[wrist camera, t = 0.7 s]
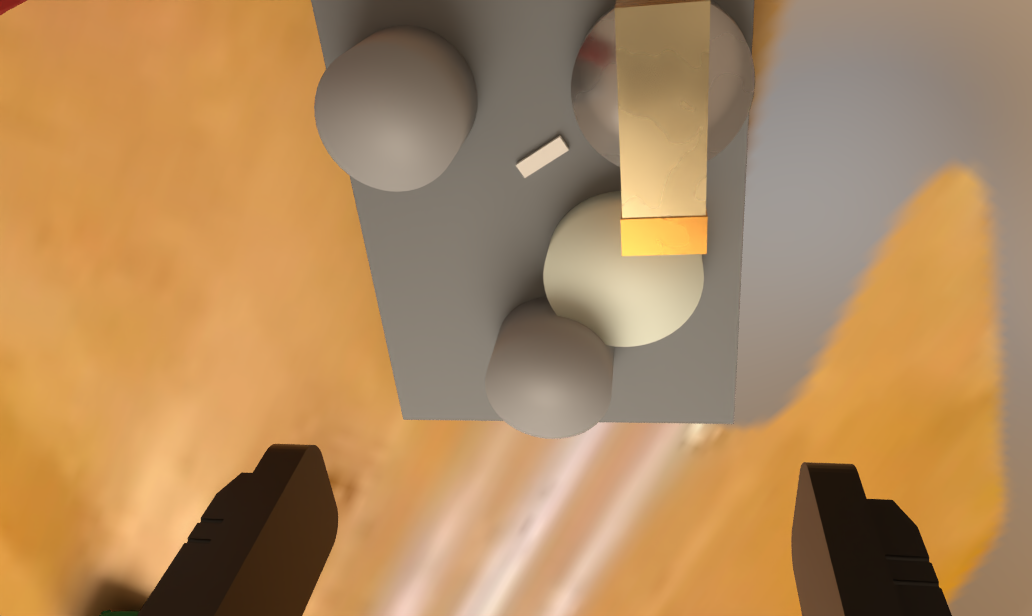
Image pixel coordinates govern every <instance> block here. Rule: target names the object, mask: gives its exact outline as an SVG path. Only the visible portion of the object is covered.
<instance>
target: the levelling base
mask: <svg viewBox="0 0 1032 616" xmlns="http://www.w3.org/2000/svg"><path fill="white" fill-rule="evenodd" d="M711 1H713V2H715V3H716V4H718V5H719V6H720V7H721V8H722V9H724V10H725V11H726V12H727V13H728V14H729V15H730V16H731V18H732V19H733V20H734V21H735V22H736V24H737V25H738V27H739V29H740V30H741V32H742V34H743V36H744V38H745V40H746V42H747V44H748V47H749V49H750V52H751V56H752V38H753V18H754V0H711ZM311 2H312V6H313V11H314V16H315V20H316V25H317V29H318V34H319V38H320V43H321V47H322V52H323V56H324V61H325V65H326V71H325V72H324V74H323V76H322V78H321V79H320V82H319V85H318V87H317V91H316V96H315V106H314V108H315V120H316V125H317V129H318V132H319V135H320V138H321V140H322V142H323V144H324V146H325V148H326V150H327V151H328V153H329V154H330V156H331V157H332V158H333V160H334V161H335V162H336V163H337V164H338V165H339V166H340V168H342V169H343V170H344V171H345V172H346V173H347V174H349V175H350V179H351V184H352V188H353V193H354V197H355V202H356V206H357V211H358V215H359V220H360V224H361V229H362V234H363V238H364V243H365V247H366V252H367V256H368V261H369V265H370V270H371V274H372V279H373V284H374V288H375V293H376V297H377V302H378V306H379V311H380V315H381V320H382V324H383V329H384V333H385V338H386V343H387V347H388V352H389V356H390V361H391V365H392V370H393V374H394V379H395V383H396V388H397V393H398V397H399V402H400V406H401V411H402V415H403V419H404V420H479V421H505V422H506V423H507V424H509V425H510V426H512V427H513V428H515V429H517V430H519V431H521V432H523V433H525V434H528V435H531V436H535V437H539V438H546V439H562V438H568V437H572V436H576V435H579V434H581V433H584V432H585V431H587V430H589V429H591V428H592V427H593V426H595V425H596V424H597V423H598V422H629V423H704V424H734V411H735V391H736V390H735V389H736V369H737V349H738V328H739V308H740V287H741V266H742V265H741V264H742V246H743V225H744V204H745V203H744V201H745V183H746V163H747V142H748V121H749V112H748V115H747V118H746V120H745V122H744V123H743V125H742V127H741V129H740V130H739V132H738V133H737V135H736V136H735V137H734V139H733V140H732V141H731V142H730V143H729V144H728V145H727V146H726V147H725V148H724V149H723V150H722V151H721V152H720V153H719V154H717V155H716V156H715V157H713V158H712V159H710V160H709V161H707V182H706V209H707V216H708V223H707V254H685V255H645V256H622V246H621V207H622V198H621V170H620V167H619V166H617V165H615V164H613V163H612V162H610V161H608V160H607V159H606V158H604V157H603V156H602V155H600V154H599V153H598V152H597V151H596V150H595V149H594V148H593V147H592V146H591V144H590V143H589V142H588V141H587V139H586V138H585V136H584V135H583V133H582V131H581V129H580V128H579V125H578V123H577V120H576V118H575V114H574V111H573V107H572V99H571V80H572V72H573V68H574V64H575V60H576V58H577V55H578V52H579V50H580V47H581V45H582V42H583V41H584V39H585V37H586V35H587V33H588V32H589V30H590V29H591V28H592V26H593V25H594V24H595V22H596V21H597V20H598V19H599V18H600V17H601V16H602V15H603V14H604V13H605V12H606V11H608V10H609V9H610V8H611V7H613V6H614V5H615V4H616V0H311Z"/></svg>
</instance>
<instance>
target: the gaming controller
mask: <svg viewBox="0 0 1032 616" xmlns="http://www.w3.org/2000/svg"><path fill="white" fill-rule="evenodd" d="M139 612H140V611H114V612H111V610H107V611H103V612H102V613H101V615H99V616H137V615H138V613H139Z"/></svg>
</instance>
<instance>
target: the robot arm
mask: <svg viewBox="0 0 1032 616" xmlns="http://www.w3.org/2000/svg"><path fill="white" fill-rule="evenodd" d="M337 528H338V511H337V506H336V502H335V499H334V495H333V492H332V488H331V485H330V481H329V478H328V474H327V471H326V467H325V463H324V460H323V456H322V453H321V451H320V449H319V448H318V447H317V446H316V445H295V444H273V445H271V446H270V447H269V448H268V449H267V451H266V452H265V454H264V455H263V457H262V459H261V460H260V462H259V463H258V465H257V467H256V468H255V470H254V472H253V473H241V474H240V475H238V476H237V477H236V478H235V479H234V480H232V481H231V482H230V483H229V484H228V485H226V486H225V487H224V488H223V489H222V490H220V491H219V492H218V493H217V494H216V496H215V497H214V499H213V500H212V502H211V503H210V505H209V506H208V508H207V509H206V511H205V512H204V514H203V515H202V517H201V522H200V523H197V525H196V526H195V528H194V529H193V531H192V532H191V534H190V535H189V537H188V542H187V543H184V544H183V546H182V548H181V549H180V551H179V552H178V554H177V555H176V557H175V558H174V560H173V561H172V563H171V564H170V566H169V567H168V569H167V570H166V572H165V573H164V575H163V577H162V578H161V580H160V581H159V583H158V584H157V586H156V587H155V589H154V590H153V592H152V593H151V595H150V596H149V598H148V599H147V601H146V603H145V604H144V606H143V607H142V609H141V610H140V612H139V613H138V615H137V616H302V615H303V613H304V610H305V608H306V606H307V604H308V601H309V599H310V597H311V594H312V592H313V590H314V588H315V585H316V583H317V581H318V579H319V576H320V574H321V572H322V570H323V567H324V565H325V563H326V561H327V558H328V556H329V554H330V552H331V549H332V547H333V545H334V542H335V539H336V534H337ZM792 562H793V570H794V575H795V580H796V585H797V591H798V596H799V601H800V606H801V611H802V616H952V615H951V612H950V610H949V607H948V605H947V602H946V599H945V597H944V594H943V592H942V589H941V588H939V581H938V579H937V576H936V573H935V571H934V568H933V566H932V563H930V562H929V555H928V553H927V550H926V548H925V545H924V542H923V540H922V537H921V535H920V532H919V530H918V527H917V526H916V525H915V524H914V523H913V521H912V520H911V519H910V518H909V517H908V516H907V515H906V514H905V513H904V512H903V511H902V510H901V509H900V507H899V506H898V505H897V504H896V503H895V502H894V501H893V500H881V499H866V496H865V493H864V490H863V487H862V484H861V480H860V477H859V474H858V472H857V469H856V467H855V466H854V465H853V464H835V463H805V462H804V463H802V465H801V469H800V475H799V482H798V490H797V497H796V505H795V512H794V520H793V527H792Z"/></svg>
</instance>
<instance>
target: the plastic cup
mask: <svg viewBox="0 0 1032 616" xmlns="http://www.w3.org/2000/svg"><path fill="white" fill-rule="evenodd" d="M25 1H27V0H0V15H2V14H3V13H5V12H6V11H8V10H10V9H12V8H14V7H15V6H17V5H19V4H21V3H23V2H25Z"/></svg>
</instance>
